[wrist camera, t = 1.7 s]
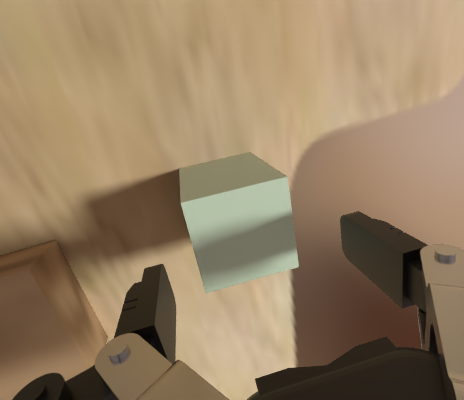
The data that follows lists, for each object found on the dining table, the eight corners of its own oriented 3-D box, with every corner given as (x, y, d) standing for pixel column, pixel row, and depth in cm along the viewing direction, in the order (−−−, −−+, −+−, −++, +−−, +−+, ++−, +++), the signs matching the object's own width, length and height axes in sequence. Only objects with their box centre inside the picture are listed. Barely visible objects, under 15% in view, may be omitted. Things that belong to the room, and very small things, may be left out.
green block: (179, 168, 19) (180, 202, 12) (250, 152, 19) (287, 176, 13) (196, 233, 21) (205, 293, 14) (261, 216, 21) (298, 266, 15)
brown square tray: (-82, 278, 18) (-147, 322, 15) (57, 237, 19) (28, 269, 15) (-8, 371, 22) (-46, 427, 18) (108, 333, 22) (95, 379, 19)
